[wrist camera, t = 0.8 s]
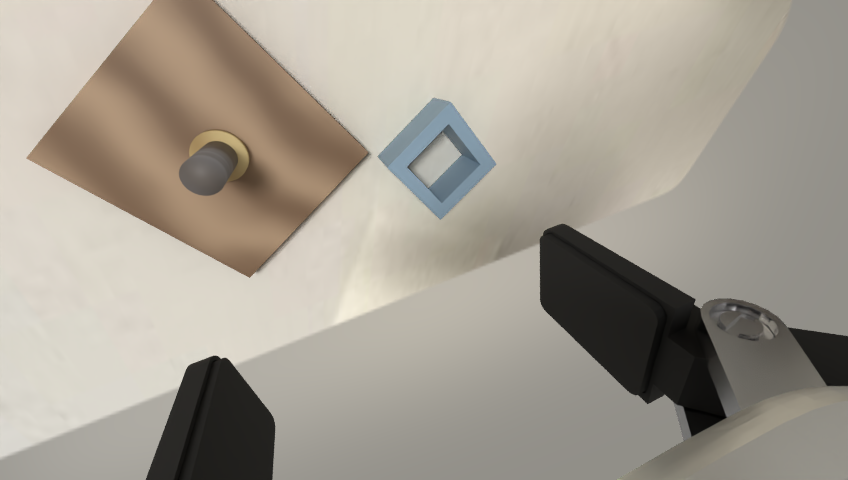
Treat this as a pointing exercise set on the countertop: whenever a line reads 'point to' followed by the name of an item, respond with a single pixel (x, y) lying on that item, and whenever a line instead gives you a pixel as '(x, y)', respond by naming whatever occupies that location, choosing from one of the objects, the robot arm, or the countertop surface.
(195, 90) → the post board
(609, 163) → the countertop surface
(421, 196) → the slate ring
